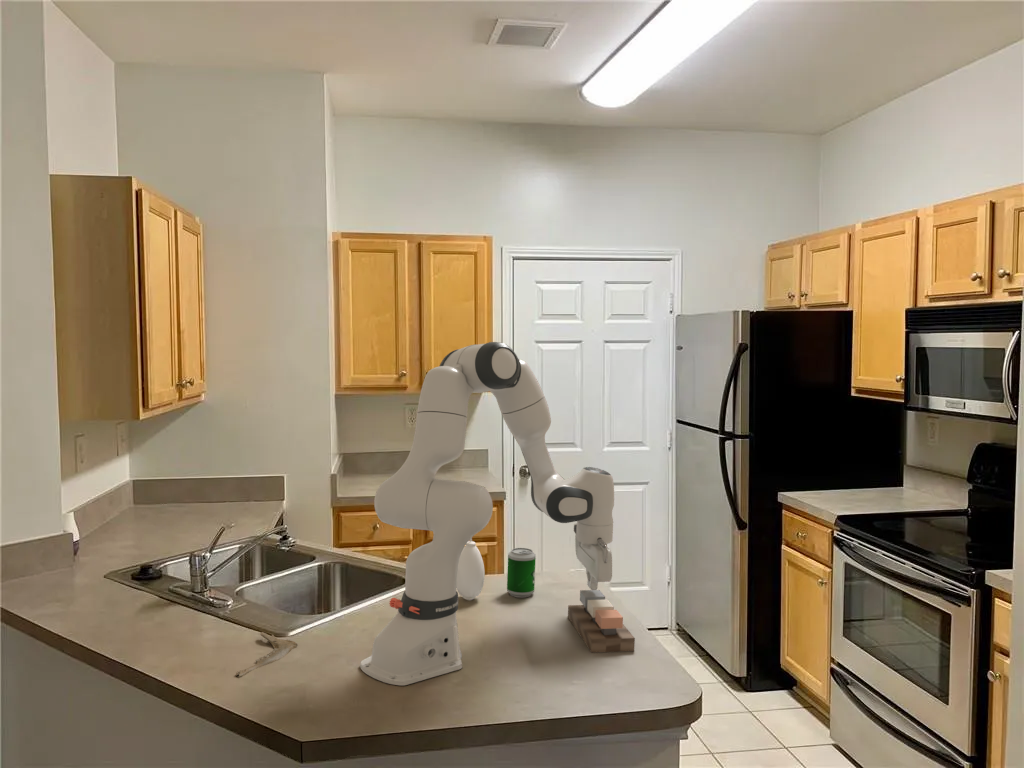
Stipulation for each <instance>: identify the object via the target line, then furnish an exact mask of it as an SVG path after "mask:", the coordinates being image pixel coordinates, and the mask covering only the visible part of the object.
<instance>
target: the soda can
mask: <svg viewBox="0 0 1024 768" xmlns="http://www.w3.org/2000/svg"><path fill="white" fill-rule="evenodd" d="M536 557H537V556H536V553H535V552H534V550H533V549H531V548H526V547H515V548H512V549H511V551H509V552H508V553H507V573H506V574H507V575H506V576H507V577H506V578H507V579H506V591H507V593H509V595H510V596H511V597H513V598H529V597H531V596H532V594H534V593H535V585H536V584H535V583H536V581H535V580H536V559H537V558H536Z"/></svg>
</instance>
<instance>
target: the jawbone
mask: <svg viewBox="0 0 1024 768" xmlns="http://www.w3.org/2000/svg"><path fill="white" fill-rule="evenodd" d="M260 636H261V637H262V638H264V639H265V640H267V641H268V642H269V643H270V644H271V646H272V648H273V649H272V650H271V651H270V652H268V653H267V654H266V655H263V656H261V657H259V659H255V661H254V662H255V664H254V665H252V666H250V667H246V668H245V669H242V670H239V671H236V672H235V677H236V678H241V677H243V676H246V675H247V674H249V673H250V672H252V671H254V670H256V669H258V668H261V667H264V666H267V665H270V664H272V663H274V662H275V663H276V662H277V661H279V660H280V659H282V658H284V657H286V656H287V655H288V654H289V653H290V652H291V651H292V650H294V649H296V648H297V647H298V643H296V641H293V640H291V639H289V640H288V639H282V638H281V639H280V638H278V637H276V636H275V635H274V634H271V635H268V634H267V632H263V631H262V632H260Z"/></svg>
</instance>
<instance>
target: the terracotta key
mask: <svg viewBox="0 0 1024 768" xmlns="http://www.w3.org/2000/svg"><path fill="white" fill-rule="evenodd" d="M595 621H596V622H597V624H598V625H599V626H600V628H601V633H602V634H603V635H616V628H623V625H624V617H623V615H622V614H621V613H620V612H619V611H618V610H617V609H614V610H596V614H595Z"/></svg>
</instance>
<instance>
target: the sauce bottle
mask: <svg viewBox="0 0 1024 768" xmlns="http://www.w3.org/2000/svg"><path fill="white" fill-rule="evenodd" d="M485 575H486V574H485V565H484V559H483V557H482V554H481V551H480V550H479V548H478V546H477V544H476V542H475V541H473V537H472V538H471V539H470V540H469V541H468V542H467V544H466V545H465V547H464V548H463V550H462V552H461V555H460V558H459V563H458V571H457V584H456V591H457V592H458V595H460V596H461V597H462V599H464V600H466V601H472V600H475V599H476V598H477V597H478V596H479V595H480V594H481V591H482V589H483V587H484V584H485Z"/></svg>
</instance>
